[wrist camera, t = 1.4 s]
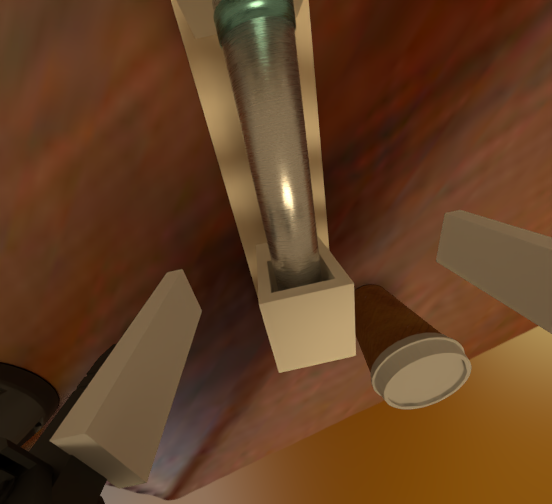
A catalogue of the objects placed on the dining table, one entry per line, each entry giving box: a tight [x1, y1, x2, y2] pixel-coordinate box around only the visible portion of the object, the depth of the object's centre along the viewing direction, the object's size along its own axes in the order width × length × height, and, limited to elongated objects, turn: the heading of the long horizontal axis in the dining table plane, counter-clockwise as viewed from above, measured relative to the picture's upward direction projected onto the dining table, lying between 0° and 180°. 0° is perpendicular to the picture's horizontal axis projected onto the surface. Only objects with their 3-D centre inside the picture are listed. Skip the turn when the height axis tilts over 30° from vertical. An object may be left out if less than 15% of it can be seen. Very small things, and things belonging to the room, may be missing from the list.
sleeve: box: [256, 235, 356, 373], centre depth 22 cm, size 8×7×11 cm
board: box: [171, 0, 329, 300], centre depth 21 cm, size 37×10×1 cm, turn 11°
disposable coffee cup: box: [354, 285, 471, 409], centre depth 25 cm, size 10×10×12 cm
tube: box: [212, 0, 322, 291], centre depth 16 cm, size 24×4×4 cm, turn 11°
